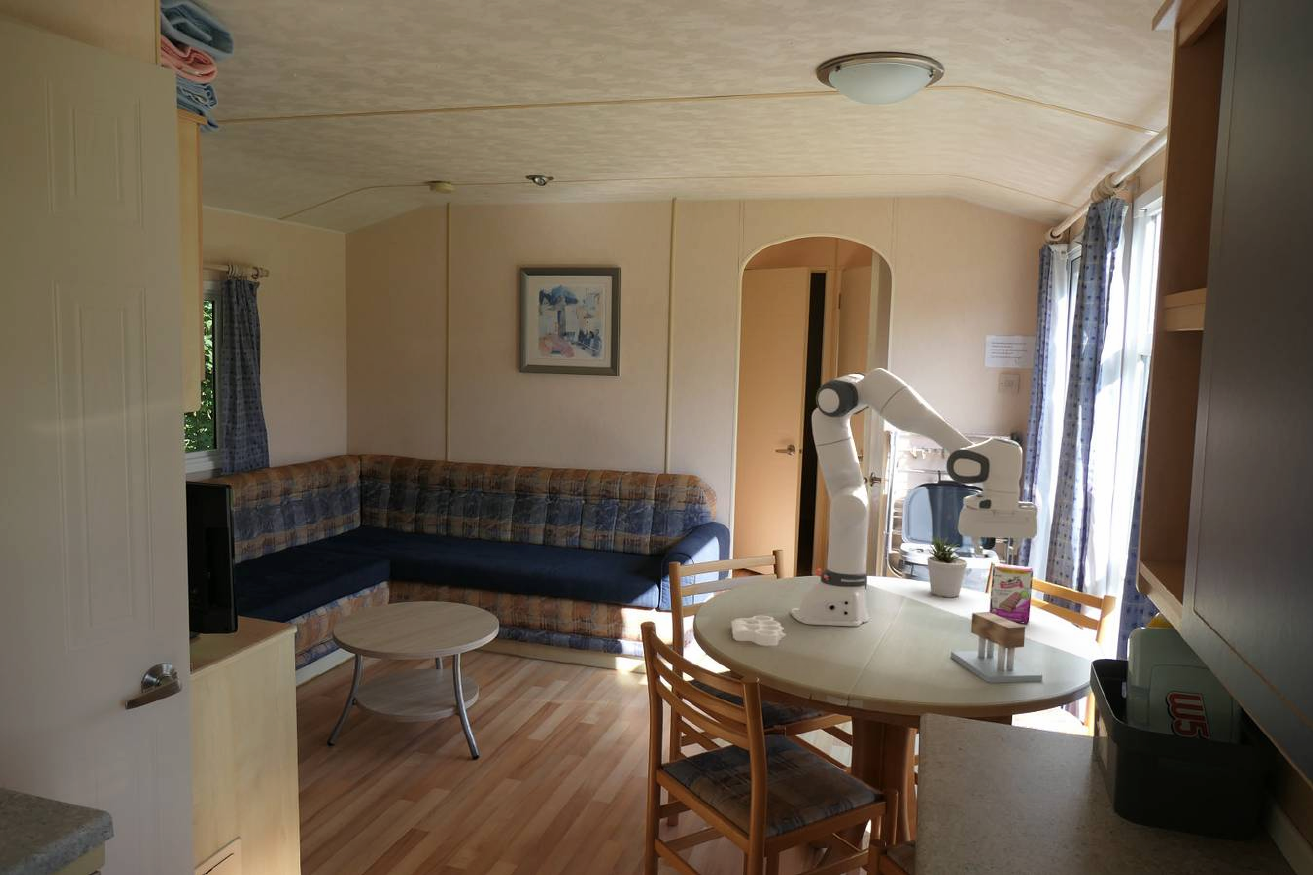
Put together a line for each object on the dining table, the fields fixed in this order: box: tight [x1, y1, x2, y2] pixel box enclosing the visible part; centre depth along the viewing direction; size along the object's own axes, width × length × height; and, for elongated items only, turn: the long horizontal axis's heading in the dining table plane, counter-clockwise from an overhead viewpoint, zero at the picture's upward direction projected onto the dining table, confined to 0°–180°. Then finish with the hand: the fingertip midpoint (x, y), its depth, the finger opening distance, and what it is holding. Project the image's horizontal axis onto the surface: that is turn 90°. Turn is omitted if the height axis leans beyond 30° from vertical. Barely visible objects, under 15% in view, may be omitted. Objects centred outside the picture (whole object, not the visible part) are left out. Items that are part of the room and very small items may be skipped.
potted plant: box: [927, 532, 968, 598], centre depth 288 cm, size 13×14×20 cm
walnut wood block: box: [970, 611, 1026, 649], centre depth 216 cm, size 13×5×5 cm, turn 19°
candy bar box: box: [988, 562, 1034, 624], centre depth 260 cm, size 11×5×16 cm, turn 71°
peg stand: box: [950, 636, 1043, 684], centre depth 216 cm, size 14×18×8 cm
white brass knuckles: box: [730, 615, 787, 647], centre depth 237 cm, size 3×18×15 cm
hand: (995, 554), depth 224 cm, fingers open, 8 cm apart
